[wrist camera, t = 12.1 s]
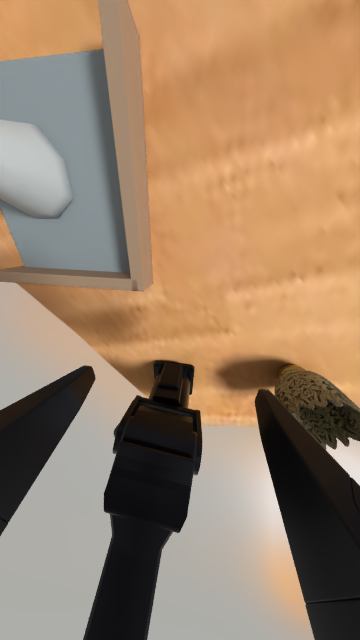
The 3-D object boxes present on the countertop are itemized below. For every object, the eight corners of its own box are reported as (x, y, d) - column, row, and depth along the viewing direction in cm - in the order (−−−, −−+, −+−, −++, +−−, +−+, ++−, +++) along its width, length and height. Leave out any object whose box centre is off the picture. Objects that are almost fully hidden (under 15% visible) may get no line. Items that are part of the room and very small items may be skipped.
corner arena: (153, 283, 20) (143, 291, 16) (27, 275, 22) (-2, 281, 18) (139, 37, 11) (114, -39, 8) (-62, 61, 13) (-143, 8, 10)
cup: (255, 360, 23) (278, 415, 16) (314, 344, 20) (372, 401, 13) (269, 393, 25) (294, 453, 18) (322, 383, 23) (375, 447, 16)
